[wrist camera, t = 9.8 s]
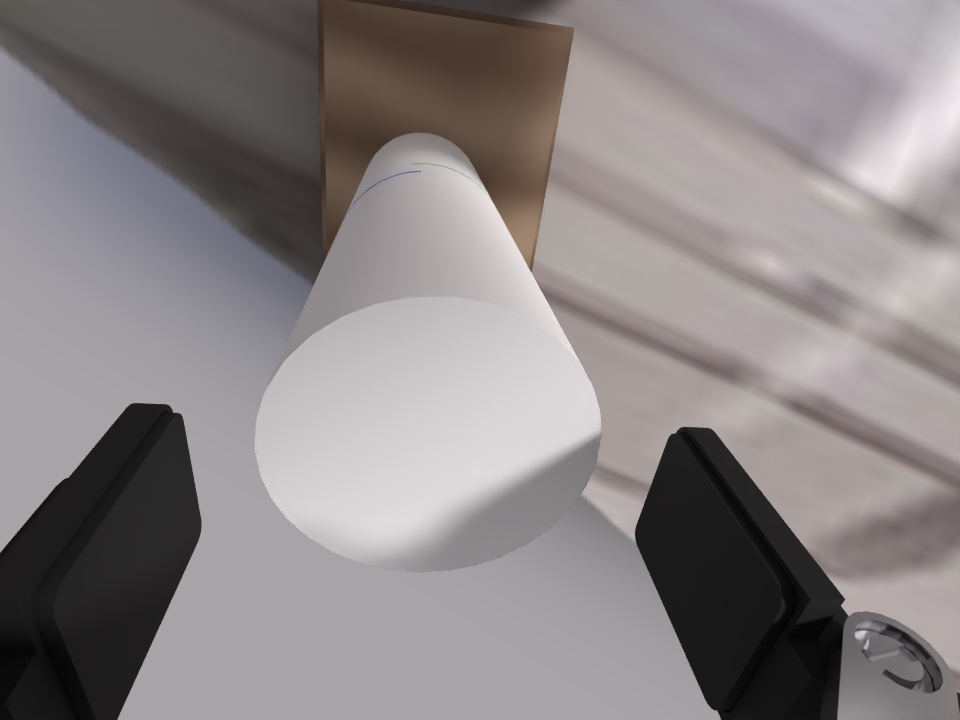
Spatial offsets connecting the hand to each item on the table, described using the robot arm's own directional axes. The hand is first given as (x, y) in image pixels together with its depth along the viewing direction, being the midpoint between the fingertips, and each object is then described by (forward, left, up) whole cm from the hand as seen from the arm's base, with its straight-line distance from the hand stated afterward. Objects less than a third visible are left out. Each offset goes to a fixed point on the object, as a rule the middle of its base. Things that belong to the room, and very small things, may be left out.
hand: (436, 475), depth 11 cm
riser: (-2, +1, -32) cm, 32 cm away
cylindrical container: (0, 0, -26) cm, 26 cm away
